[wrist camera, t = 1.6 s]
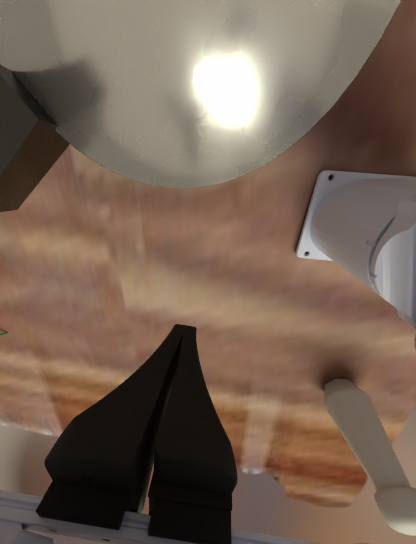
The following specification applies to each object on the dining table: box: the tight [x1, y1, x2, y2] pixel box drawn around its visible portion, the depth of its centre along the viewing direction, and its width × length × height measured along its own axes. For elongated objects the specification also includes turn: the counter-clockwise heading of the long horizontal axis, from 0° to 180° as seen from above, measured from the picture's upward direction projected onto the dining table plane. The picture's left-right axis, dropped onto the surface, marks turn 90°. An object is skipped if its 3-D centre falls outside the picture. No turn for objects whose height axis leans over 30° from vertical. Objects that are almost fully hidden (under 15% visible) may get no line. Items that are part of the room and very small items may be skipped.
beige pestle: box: [324, 379, 416, 536], centre depth 22 cm, size 6×6×13 cm
